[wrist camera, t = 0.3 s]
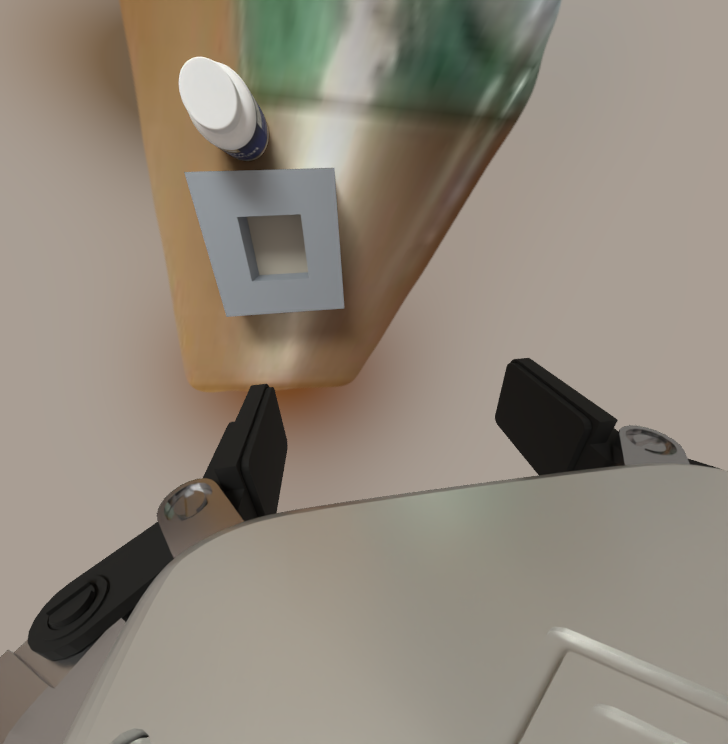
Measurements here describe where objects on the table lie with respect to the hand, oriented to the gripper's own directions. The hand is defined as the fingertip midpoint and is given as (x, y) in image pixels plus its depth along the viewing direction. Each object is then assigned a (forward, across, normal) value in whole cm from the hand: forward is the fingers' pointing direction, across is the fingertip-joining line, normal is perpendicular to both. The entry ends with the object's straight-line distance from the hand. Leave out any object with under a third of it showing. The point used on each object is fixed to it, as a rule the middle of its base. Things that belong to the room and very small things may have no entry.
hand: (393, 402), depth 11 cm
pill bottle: (+30, +10, -15) cm, 35 cm away
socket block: (+30, +8, -4) cm, 31 cm away
